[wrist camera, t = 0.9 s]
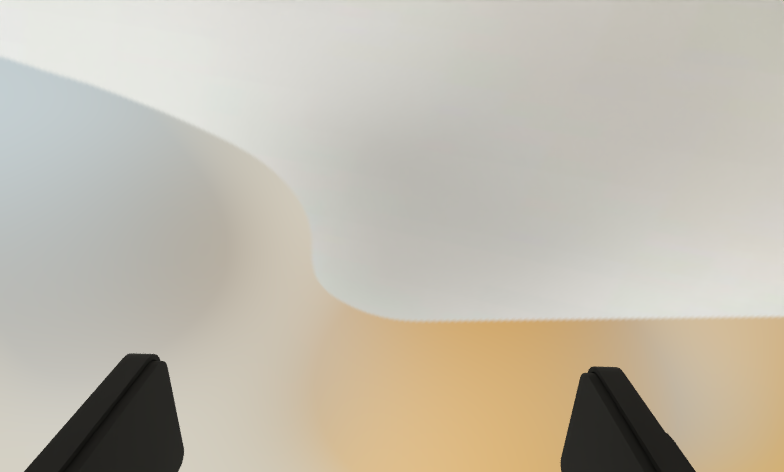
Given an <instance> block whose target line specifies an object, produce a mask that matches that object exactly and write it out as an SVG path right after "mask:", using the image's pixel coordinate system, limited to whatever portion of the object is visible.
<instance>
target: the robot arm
mask: <svg viewBox="0 0 784 472" xmlns="http://www.w3.org/2000/svg"><path fill="white" fill-rule="evenodd" d="M183 456H184V447H183V443H182V437H181V432H180V428H179V422H178V417H177V412H176V407H175V402H174V397H173V392H172V387H171V383H170V377H169V372H168V368H167V364H166V363H165V362H164V361H160V359H159V357H158V356H157V355H155V354H127V355H126V356H125V357H124V358H123V359H122V360H121V361H120V362H119V363H118V365H117V366H116V367H115V368H114V369H113V370H112V372H111V373H110V374H109V375H108V376H107V377H106V378H105V380H104V381H103V382H102V383H101V384H100V385H99V386H98V388H97V389H96V390H95V391H94V392H93V393H92V394H91V396H90V397H89V398H88V399H87V400H86V401H85V402H84V404H83V405H82V406H81V407H80V408H79V409H78V410H77V412H76V413H75V414H74V415H73V416H72V417H71V418H70V420H69V421H68V422H67V423H66V424H65V425H64V427H63V428H62V429H61V430H60V431H59V432H58V433H57V435H56V436H55V437H54V438H53V439H52V440H51V441H50V443H49V444H48V445H47V446H46V447H45V448H44V449H43V451H42V452H41V453H40V454H39V455H38V456H37V458H36V459H35V460H34V461H33V462H32V463H31V464H30V465H29V467H28V468H27V469H26V470H25V471H24V472H178V471H179V468H180V466H181V464H182V460H183ZM561 471H562V472H696V471H695V470H694V469H693V467H692V466H691V464H690V463H689V462H688V460H687V459H686V457H685V456H684V455H683V453H682V452H681V450H680V449H679V447H678V446H677V445H676V443H675V442H674V440H673V439H672V438H671V437H670V436H669V435H668V434H667V433H665V431H664V430H663V428H662V427H661V426H660V424H659V423H658V421H657V420H656V418H655V417H654V416H653V414H652V413H651V411H650V410H649V408H648V407H647V405H646V404H645V403H644V401H643V400H642V398H641V397H640V396H639V394H638V393H637V391H636V390H635V388H634V387H633V385H632V384H631V383H630V381H629V380H628V378H627V377H626V376H625V374H624V373H623V372H622V370H621V369H620V368H617V367H591V368H590V369H589V371H588V373H583V374H582V375H581V377H580V381H579V386H578V390H577V394H576V398H575V402H574V406H573V411H572V415H571V419H570V423H569V427H568V432H567V436H566V440H565V445H564V448H563V453H562V457H561Z"/></svg>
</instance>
